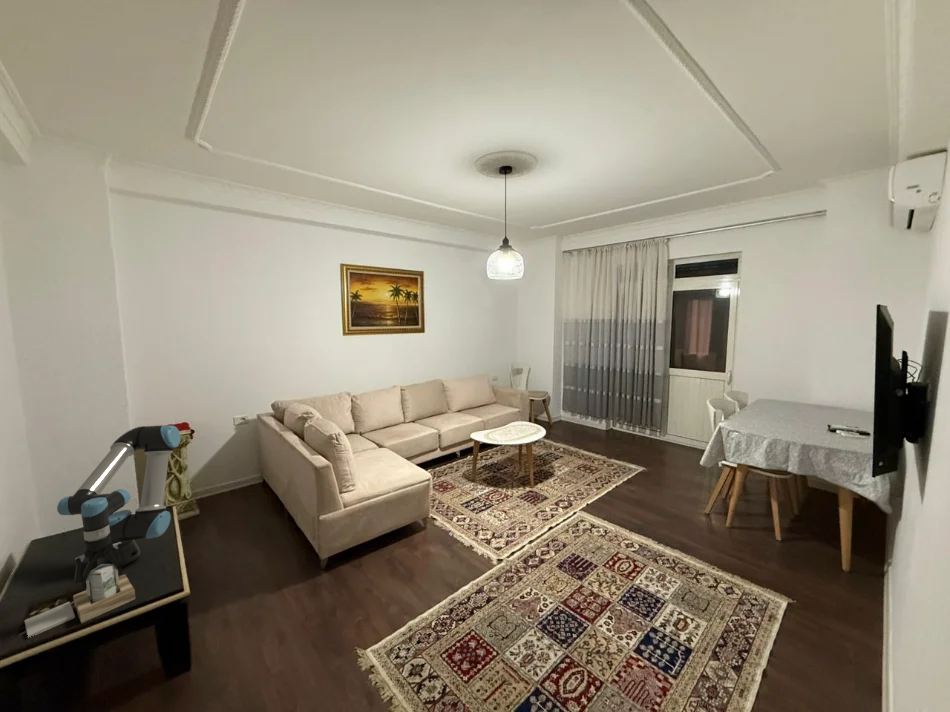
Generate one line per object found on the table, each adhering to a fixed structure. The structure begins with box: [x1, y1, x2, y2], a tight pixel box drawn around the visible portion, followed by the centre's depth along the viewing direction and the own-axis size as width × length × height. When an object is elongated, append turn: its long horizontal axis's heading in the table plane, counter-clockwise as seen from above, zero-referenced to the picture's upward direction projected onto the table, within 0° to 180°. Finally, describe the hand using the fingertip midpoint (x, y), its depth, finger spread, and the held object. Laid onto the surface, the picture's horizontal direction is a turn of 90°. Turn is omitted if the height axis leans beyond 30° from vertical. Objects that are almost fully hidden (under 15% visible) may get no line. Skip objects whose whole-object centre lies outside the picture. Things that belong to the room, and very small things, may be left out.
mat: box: [24, 601, 76, 639], centre depth 148 cm, size 12×12×1 cm
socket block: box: [72, 574, 136, 624], centre depth 157 cm, size 16×16×4 cm
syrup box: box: [87, 564, 118, 604], centre depth 156 cm, size 6×6×14 cm
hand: (103, 588), depth 156 cm, fingers closed on syrup box, 8 cm apart
